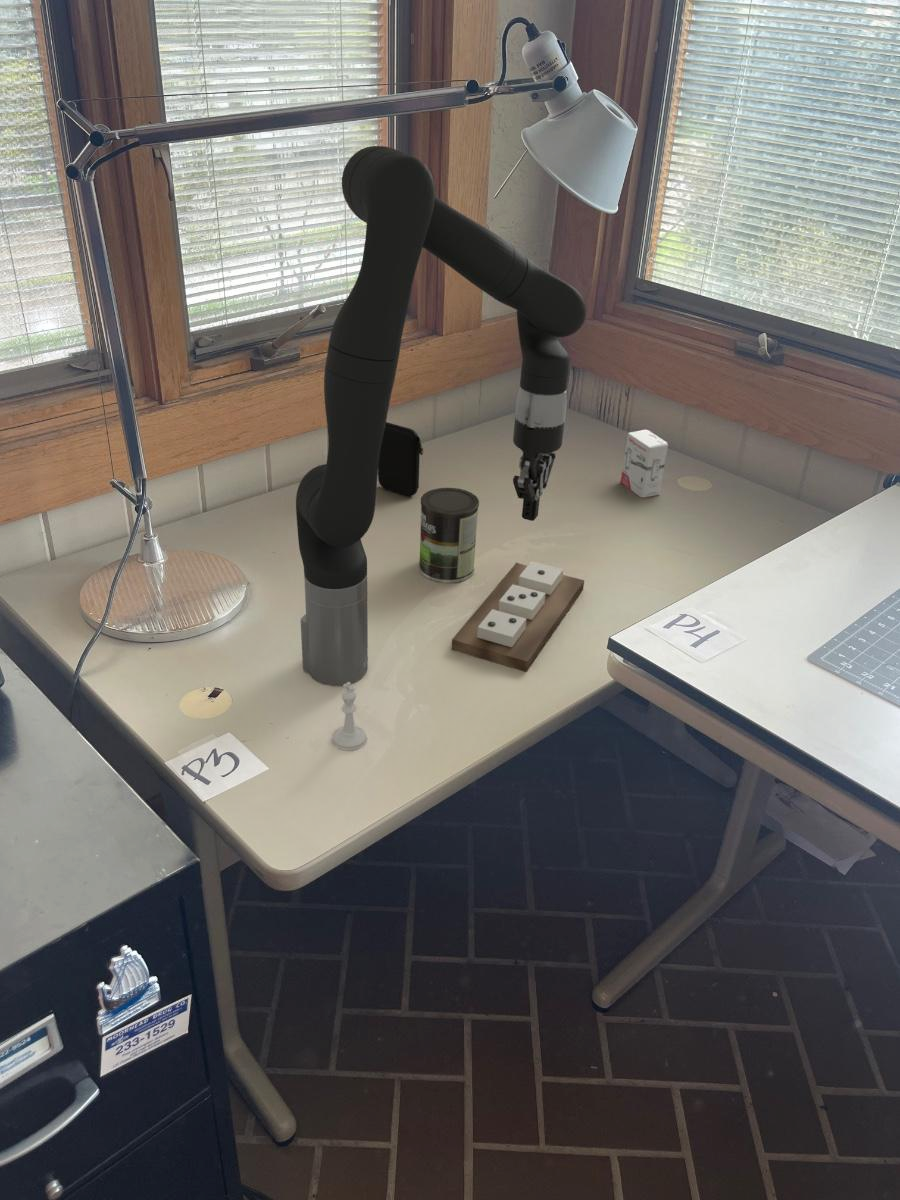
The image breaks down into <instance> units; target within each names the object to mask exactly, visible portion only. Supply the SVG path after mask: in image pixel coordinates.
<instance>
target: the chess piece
mask: <svg viewBox="0 0 900 1200" xmlns="http://www.w3.org/2000/svg"><path fill="white" fill-rule="evenodd" d="M342 688H343V689H345V690H344V691H343V692H341V698H342V700H343V704H342V706H341V712H343V713H344V715H345V716H344V723H343V726H340V727H337V728H336V729H335V730H334V731H333V733H332V739H331V742H332V744H333V746H334V747H336V748H338V750H341V751H346V752H349V751H351V752H353V751H356V750H359V749H361V748H363V747H364V746H366V744H367V742H368V737H367V733H366V730H364V728H362V727H361V726H357V725H355V718H354V713H355V712H356V711H357V710H358V708H357V705H356V704H355V700H356V697H357V693H356V692H355V688H354V687H353V686H352V683H350V682H347V683H346V684H344V685H342Z"/></svg>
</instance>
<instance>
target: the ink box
mask: <svg viewBox="0 0 900 1200" xmlns="http://www.w3.org/2000/svg"><path fill="white" fill-rule="evenodd" d="M668 448H669V444H668V441H665V440H664V439H662V438H661V437H660V436H658V435H656V434H655V433H653V432H652V431H651V430H648V429H641V430H636V431H630V432H628V433H627V439H626V446H625V451H624V457H623V463H622V469H621V470H622V471H621V478H620V483H621V484H622V485H623V484H624V486H625V487H626V488H628V489H629V490H630V491H631V492H632V493H635V494H636V495H637V496H639V497H640V498H641V497H642V498H643V497H644V498H648V497H653V496H659V495H660V494H661V489H662V484H663V483H662V482H663V477H664V471H665V464H666V458H667V453H668ZM644 498H643V499H644Z"/></svg>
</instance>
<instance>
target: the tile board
mask: <svg viewBox="0 0 900 1200" xmlns="http://www.w3.org/2000/svg"><path fill="white" fill-rule="evenodd" d="M527 566H528V565H526V564H523V563H518V562H515V564H514V565H513V566H512V567H511V568H510V570H508V572H507V574H505V576H504V577H503V578H502V579H501V580H500V582H499V583H498V584H497V585H496V586H495V588H494V589H493V590H492V591H491V592H490V594H489V595H487V597H486V598H485V599H484V601H483V602H482V603H481V604H480V605H479V606H478V608H477V609H476V610H474V611H475V612H473V614H472V615H471V616H470V617H469V618H468V620H467V621H466V622H465V623H464V625H463V626H462V627H461V628H460V629H459V630H458V632H456V634H455V635H454V636H453V637H452V639H451V651H454V652H458V653H461V654H465V655H469V656H472V657H476V658H478V659H481V660H485V661H489V662H492V663H494V664H495V663H496V664H498V665H501V666H505V667H509V668H513V669H516V670H518V671H522V672H526V673H527V672H528V671H529V669H530V668H531V667H532V665H533V664H534V662H535V660H536V659H537V658H538V657H539V655H540V653H541V652H542V650H543V649H544V648H545V646H546V645H547V643H548V642H549V640H550V639H551V637H552V636H553V634H554V633H555V632H556V630H557V629H558V627H559V626H560V624H561V623H562V621H563V620H564V619H565V617H566V615H567V614H568V613H569V611H570V610H571V608H572V606H573V605H574V604H575V602H576V601H577V600H578V598H579V597H580V595H581V594H582V592H583V591H584V585H585V579H581V578H577V577H574V576H570V575H565V574H563V576H562V580H561V581H560V583H559V584H558V585H557V587H556V588H555V589H554V591H553V592H552V594H551V595H549V594H545V603H544V604H543V606H542V607H541V609H540V610H539V611H538V613H537V614H536V615H535V617H534V618H533V619H532V620H530V619H526V628H525V630H524V632H523V633H522V634H521V636H520V637H519V638H518V640H517V641H516V642H515V644H514V645H513V646H512V647H508V646H505V645H502V644H498V643H495V642H491V641H488V640H484V639H481V638H477V631H478V626H479V625H480V624H481V622H482V621H483V620H484V619H485V618H486V616H487V615H488V614H489V613H490V611H491V610H492V609H493V610H497V611H499V600H500V599H501V598H502V597H503V596H504V594H505V593H506V592H507V591H508V589H509V588H510V587H511V586H512V584H513V585H517V586H518V583H519V576H520V575H521V573H522V572H523V571H524V570H525V568H526V567H527ZM504 613H505V612H504ZM511 615H512V614H511ZM522 618H523V617H522Z"/></svg>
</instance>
